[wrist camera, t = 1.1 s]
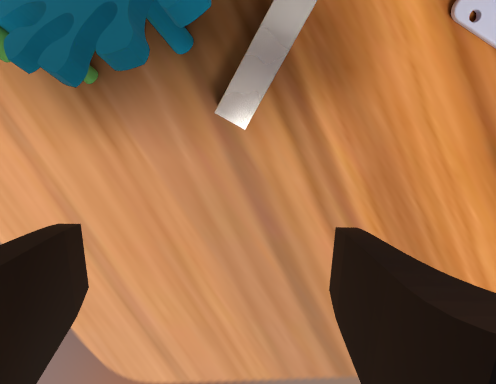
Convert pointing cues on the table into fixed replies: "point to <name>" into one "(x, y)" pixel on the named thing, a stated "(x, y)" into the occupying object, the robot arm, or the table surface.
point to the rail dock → (263, 59)
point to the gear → (90, 33)
